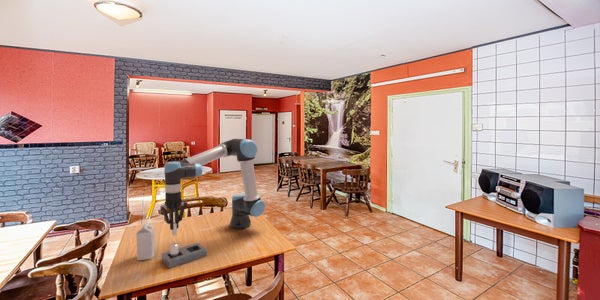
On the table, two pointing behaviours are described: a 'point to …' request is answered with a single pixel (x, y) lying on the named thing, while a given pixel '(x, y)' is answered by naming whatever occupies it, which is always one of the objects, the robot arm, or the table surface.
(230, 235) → the table surface
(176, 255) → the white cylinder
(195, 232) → the table surface
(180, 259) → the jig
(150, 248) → the milk carton
